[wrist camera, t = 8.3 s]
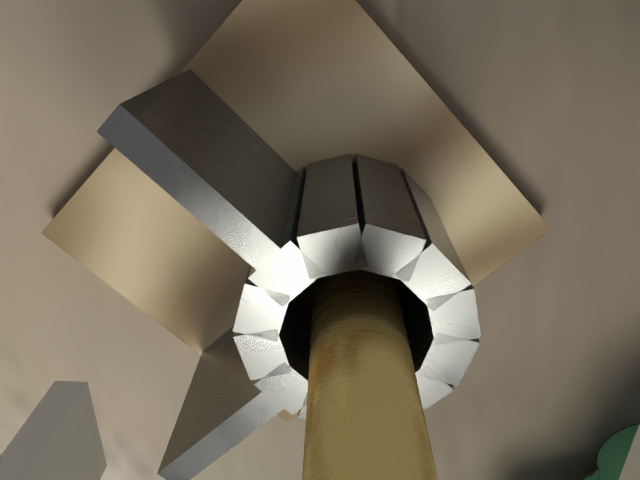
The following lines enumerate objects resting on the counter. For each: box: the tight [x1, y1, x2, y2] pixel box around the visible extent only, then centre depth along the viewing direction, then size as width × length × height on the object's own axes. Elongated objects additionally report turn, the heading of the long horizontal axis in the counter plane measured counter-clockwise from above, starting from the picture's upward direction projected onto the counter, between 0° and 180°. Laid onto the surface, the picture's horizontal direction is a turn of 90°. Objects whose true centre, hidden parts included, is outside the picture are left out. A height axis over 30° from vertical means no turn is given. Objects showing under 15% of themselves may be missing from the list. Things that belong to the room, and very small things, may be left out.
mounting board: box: [41, 0, 551, 422], centre depth 22 cm, size 15×16×1 cm
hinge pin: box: [302, 269, 438, 480], centre depth 16 cm, size 3×3×13 cm
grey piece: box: [97, 69, 481, 480], centre depth 19 cm, size 13×13×7 cm
